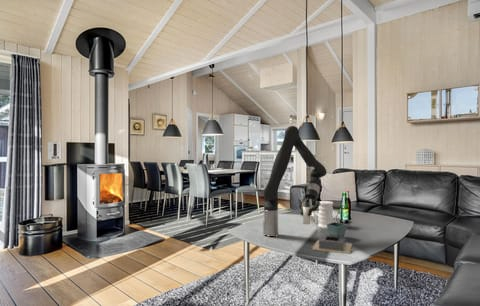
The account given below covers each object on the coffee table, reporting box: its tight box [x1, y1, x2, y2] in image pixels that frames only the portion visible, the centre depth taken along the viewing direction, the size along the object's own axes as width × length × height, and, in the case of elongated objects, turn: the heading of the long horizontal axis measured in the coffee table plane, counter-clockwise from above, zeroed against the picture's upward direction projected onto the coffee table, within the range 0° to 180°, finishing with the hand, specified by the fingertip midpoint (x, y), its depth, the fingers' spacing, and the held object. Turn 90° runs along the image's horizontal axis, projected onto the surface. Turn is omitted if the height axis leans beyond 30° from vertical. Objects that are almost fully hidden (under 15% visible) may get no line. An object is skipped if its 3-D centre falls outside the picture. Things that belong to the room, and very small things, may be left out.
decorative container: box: [317, 200, 334, 229], centre depth 222 cm, size 12×12×18 cm
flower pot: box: [326, 221, 347, 237], centre depth 191 cm, size 9×9×9 cm
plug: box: [302, 199, 311, 225], centre depth 180 cm, size 4×4×15 cm
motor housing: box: [311, 234, 353, 255], centre depth 172 cm, size 20×16×5 cm
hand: (305, 214), depth 178 cm, fingers closed on plug, 4 cm apart
